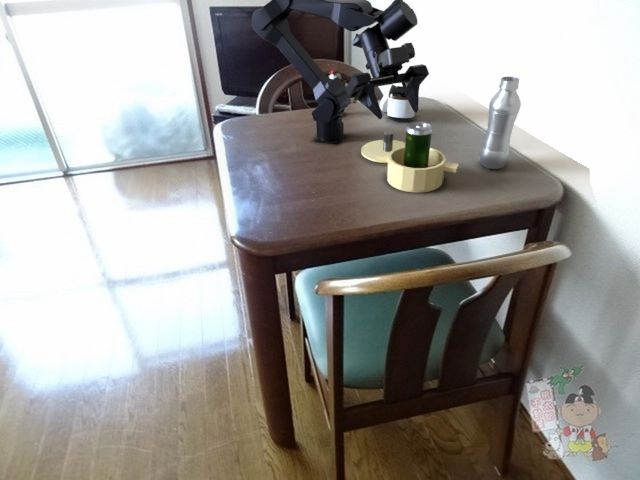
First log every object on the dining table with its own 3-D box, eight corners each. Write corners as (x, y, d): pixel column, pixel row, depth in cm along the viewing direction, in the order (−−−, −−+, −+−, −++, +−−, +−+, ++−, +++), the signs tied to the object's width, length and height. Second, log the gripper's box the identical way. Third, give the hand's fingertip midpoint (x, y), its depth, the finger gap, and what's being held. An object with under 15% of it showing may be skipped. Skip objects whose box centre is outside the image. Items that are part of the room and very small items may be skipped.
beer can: (413, 184, 95) (418, 132, 88) (397, 175, 99) (401, 125, 92) (431, 178, 97) (438, 126, 90) (415, 169, 101) (420, 119, 94)
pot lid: (405, 169, 103) (407, 146, 99) (353, 160, 108) (353, 139, 104) (420, 147, 112) (422, 126, 109) (371, 140, 117) (372, 120, 114)
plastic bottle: (506, 161, 104) (526, 75, 92) (506, 174, 99) (527, 84, 87) (478, 158, 106) (494, 73, 94) (476, 170, 101) (493, 82, 89)
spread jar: (409, 125, 125) (412, 84, 119) (372, 120, 130) (373, 80, 123) (419, 112, 134) (423, 73, 127) (384, 108, 138) (386, 70, 132)
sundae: (324, 112, 137) (322, 62, 129) (345, 110, 138) (344, 61, 129) (326, 119, 132) (324, 68, 123) (347, 117, 132) (347, 66, 124)
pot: (448, 199, 91) (452, 175, 87) (368, 184, 97) (368, 162, 94) (459, 174, 100) (463, 151, 96) (385, 162, 106) (386, 141, 103)
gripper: (351, 34, 89) (375, 103, 87) (429, 25, 94) (452, 90, 92) (336, 66, 100) (357, 128, 98) (407, 56, 105) (427, 114, 103)
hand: (399, 115), depth 97 cm, fingers open, 9 cm apart
